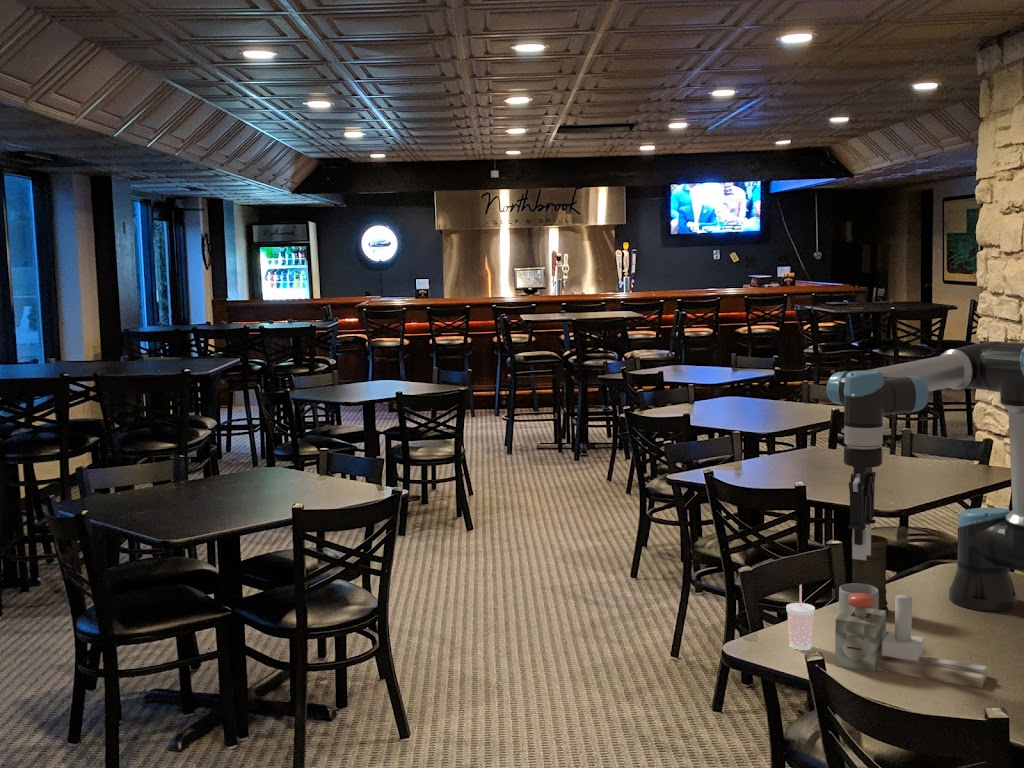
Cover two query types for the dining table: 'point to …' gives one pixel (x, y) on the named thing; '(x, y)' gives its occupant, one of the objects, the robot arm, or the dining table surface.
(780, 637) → the dining table surface
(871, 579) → the container
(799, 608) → the beverage cup
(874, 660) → the rail rig
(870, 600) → the button
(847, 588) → the mug
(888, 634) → the carriage
